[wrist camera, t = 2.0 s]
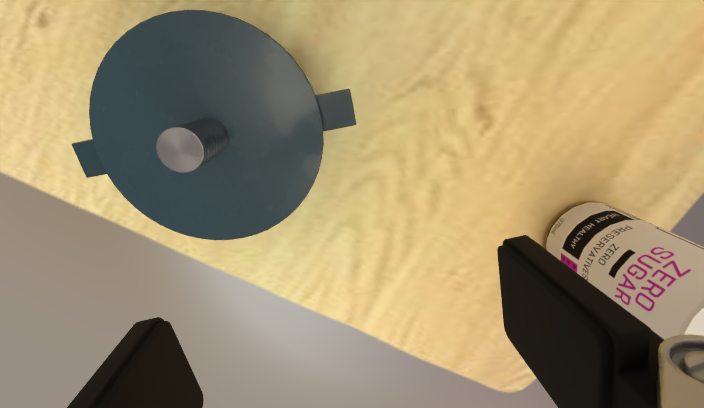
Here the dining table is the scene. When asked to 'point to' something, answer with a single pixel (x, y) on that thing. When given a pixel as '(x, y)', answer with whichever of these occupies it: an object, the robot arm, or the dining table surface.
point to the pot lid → (206, 124)
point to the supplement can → (635, 266)
